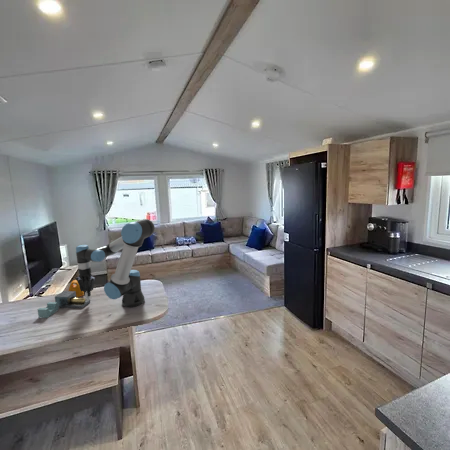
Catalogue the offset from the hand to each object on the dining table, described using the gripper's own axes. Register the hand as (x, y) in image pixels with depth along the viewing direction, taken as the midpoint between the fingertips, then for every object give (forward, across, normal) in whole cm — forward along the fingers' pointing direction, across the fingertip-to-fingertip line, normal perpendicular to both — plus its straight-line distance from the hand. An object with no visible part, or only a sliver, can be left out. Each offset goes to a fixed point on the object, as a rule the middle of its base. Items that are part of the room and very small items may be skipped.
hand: (88, 300), depth 186 cm
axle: (+2, +12, 0) cm, 12 cm away
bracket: (+4, +19, -14) cm, 24 cm away
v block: (+4, +20, +13) cm, 24 cm away
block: (+4, +11, 0) cm, 12 cm away
